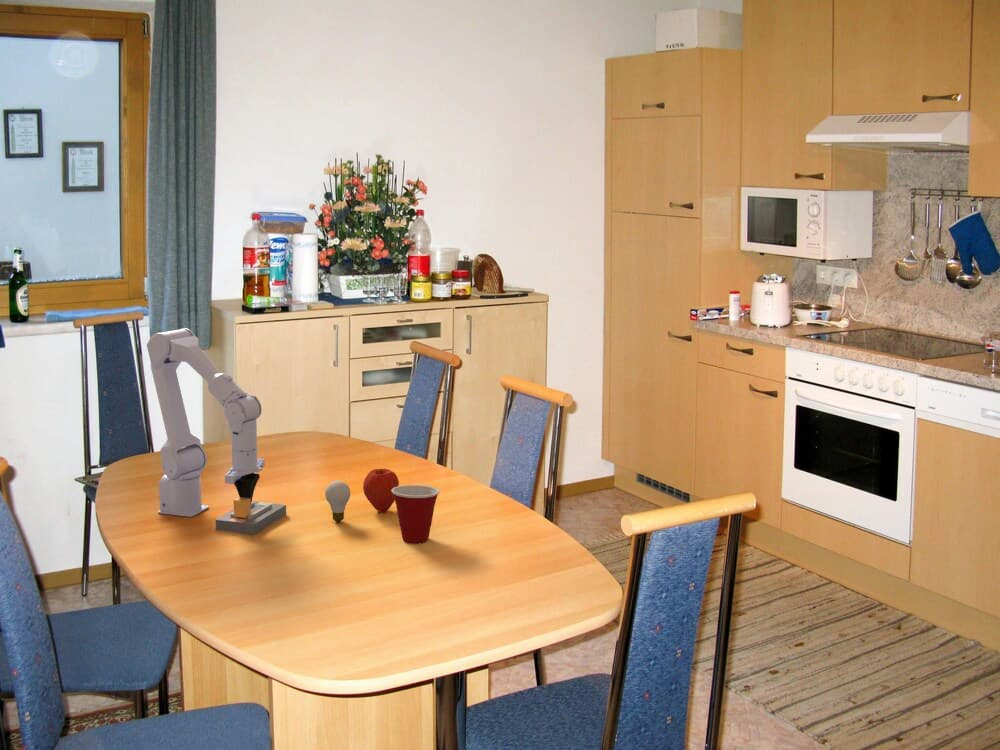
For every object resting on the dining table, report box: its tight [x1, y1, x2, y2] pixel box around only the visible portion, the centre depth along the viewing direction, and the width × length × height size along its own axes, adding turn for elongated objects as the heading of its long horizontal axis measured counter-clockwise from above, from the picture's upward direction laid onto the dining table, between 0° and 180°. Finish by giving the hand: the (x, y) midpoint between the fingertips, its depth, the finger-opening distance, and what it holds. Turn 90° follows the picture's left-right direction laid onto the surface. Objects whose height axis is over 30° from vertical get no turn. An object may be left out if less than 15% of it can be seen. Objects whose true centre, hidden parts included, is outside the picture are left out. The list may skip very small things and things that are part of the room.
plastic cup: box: [391, 484, 441, 545], centre depth 251 cm, size 11×11×12 cm
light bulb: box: [324, 480, 351, 523], centre depth 262 cm, size 6×6×10 cm
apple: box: [362, 468, 400, 513], centre depth 270 cm, size 9×8×11 cm
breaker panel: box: [215, 500, 287, 536], centre depth 262 cm, size 10×15×3 cm, turn 162°
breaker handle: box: [232, 496, 251, 518], centre depth 257 cm, size 3×2×4 cm
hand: (246, 504), depth 259 cm, fingers closed
